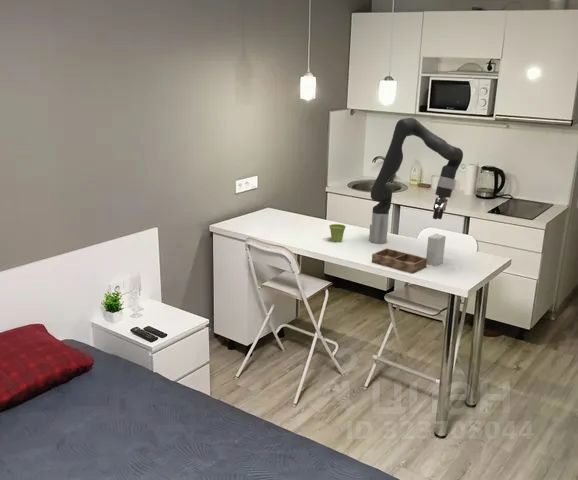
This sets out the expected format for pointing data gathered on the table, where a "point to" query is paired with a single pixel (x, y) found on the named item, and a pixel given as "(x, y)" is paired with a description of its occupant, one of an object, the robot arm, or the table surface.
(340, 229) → the plant pot
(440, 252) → the skincare box
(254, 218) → the table surface
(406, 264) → the divided wooden tray
